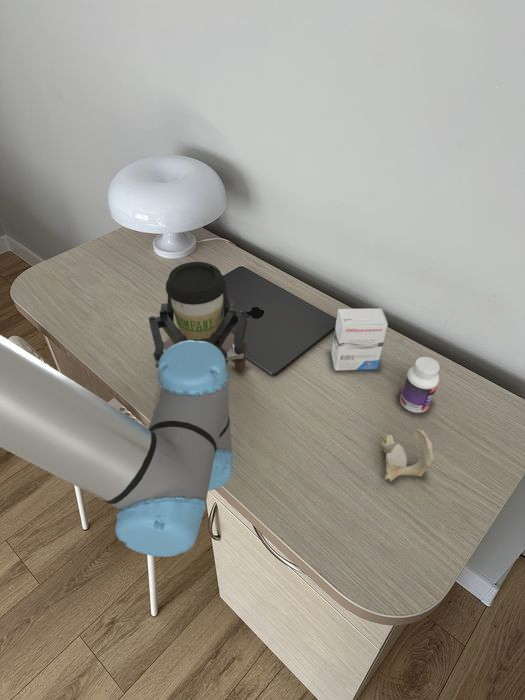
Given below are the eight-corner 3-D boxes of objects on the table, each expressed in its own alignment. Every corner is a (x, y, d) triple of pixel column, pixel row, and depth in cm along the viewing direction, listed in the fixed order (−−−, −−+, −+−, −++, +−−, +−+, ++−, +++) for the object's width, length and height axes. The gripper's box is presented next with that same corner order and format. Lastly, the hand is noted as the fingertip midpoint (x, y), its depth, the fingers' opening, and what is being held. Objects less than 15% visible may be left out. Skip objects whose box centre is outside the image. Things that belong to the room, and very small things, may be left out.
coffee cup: (163, 343, 89) (151, 275, 79) (205, 319, 94) (199, 252, 84) (197, 371, 84) (190, 303, 74) (239, 344, 89) (238, 276, 79)
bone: (357, 463, 78) (390, 413, 74) (373, 453, 83) (404, 407, 79) (402, 500, 74) (439, 449, 70) (416, 488, 79) (450, 440, 75)
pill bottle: (428, 417, 87) (442, 379, 80) (397, 409, 88) (409, 371, 81) (430, 395, 90) (445, 357, 84) (401, 388, 91) (413, 350, 85)
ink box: (372, 352, 98) (383, 306, 90) (377, 370, 95) (389, 324, 87) (330, 353, 98) (337, 307, 90) (334, 371, 94) (341, 325, 86)
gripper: (129, 409, 72) (139, 312, 88) (273, 398, 74) (257, 305, 90) (119, 374, 67) (132, 278, 83) (274, 363, 69) (258, 271, 85)
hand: (197, 292), depth 87 cm, fingers closed on coffee cup, 9 cm apart
